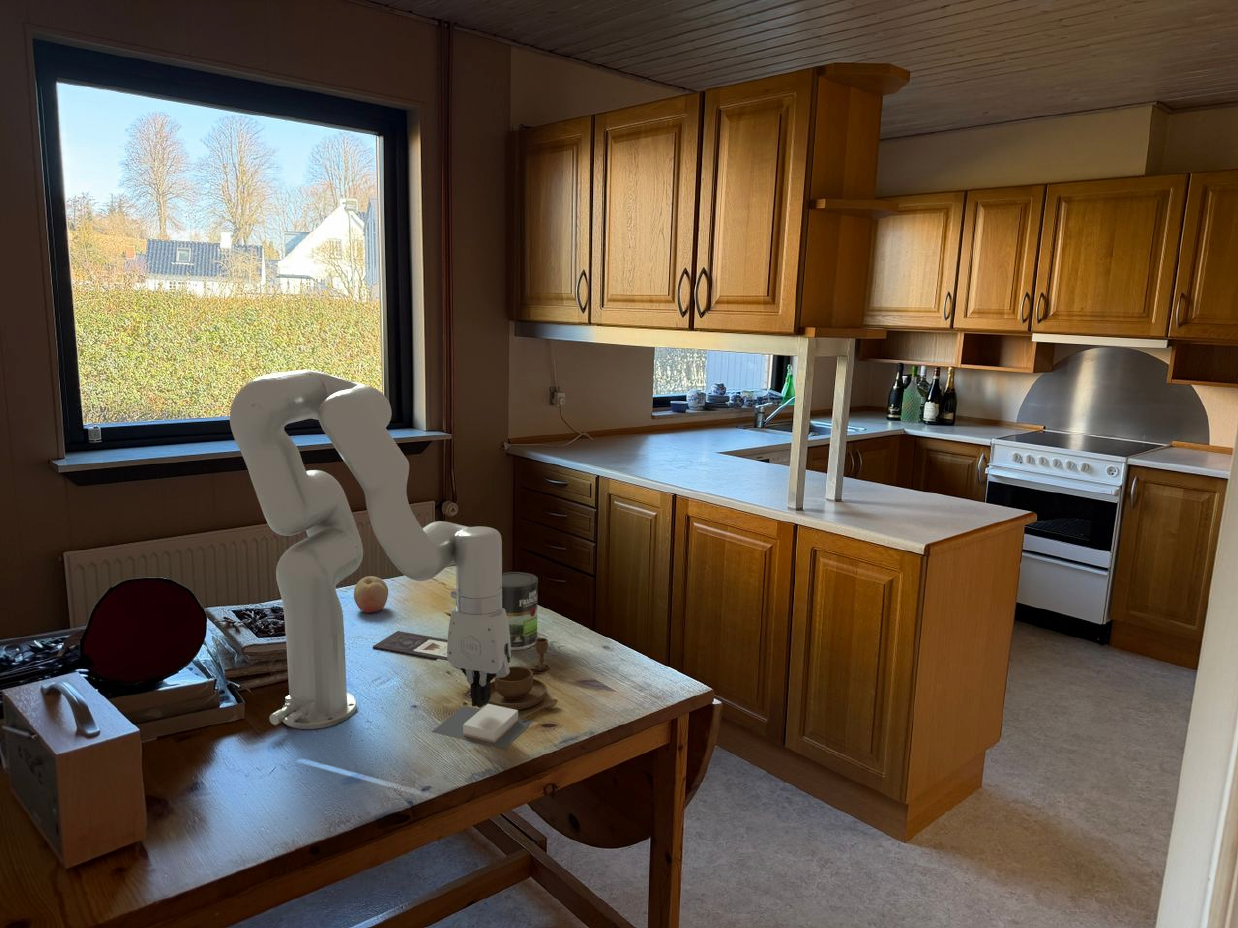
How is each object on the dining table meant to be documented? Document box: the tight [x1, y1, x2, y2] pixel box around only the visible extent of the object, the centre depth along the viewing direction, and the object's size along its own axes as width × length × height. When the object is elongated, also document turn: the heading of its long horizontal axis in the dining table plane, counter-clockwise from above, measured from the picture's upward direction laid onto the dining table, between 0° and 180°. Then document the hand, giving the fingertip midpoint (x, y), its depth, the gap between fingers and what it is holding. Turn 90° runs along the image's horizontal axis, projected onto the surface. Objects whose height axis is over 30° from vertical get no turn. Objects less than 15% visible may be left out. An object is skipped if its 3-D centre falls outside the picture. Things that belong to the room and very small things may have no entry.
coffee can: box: [502, 571, 539, 651], centre depth 178 cm, size 10×10×14 cm
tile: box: [463, 703, 519, 743], centre depth 141 cm, size 8×2×6 cm
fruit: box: [353, 575, 389, 614], centre depth 194 cm, size 8×8×8 cm
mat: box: [431, 705, 534, 750], centre depth 141 cm, size 10×14×1 cm
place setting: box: [486, 637, 558, 719], centre depth 154 cm, size 18×20×6 cm
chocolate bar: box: [372, 630, 448, 662], centre depth 175 cm, size 9×1×18 cm
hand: (480, 703), depth 141 cm, fingers closed
